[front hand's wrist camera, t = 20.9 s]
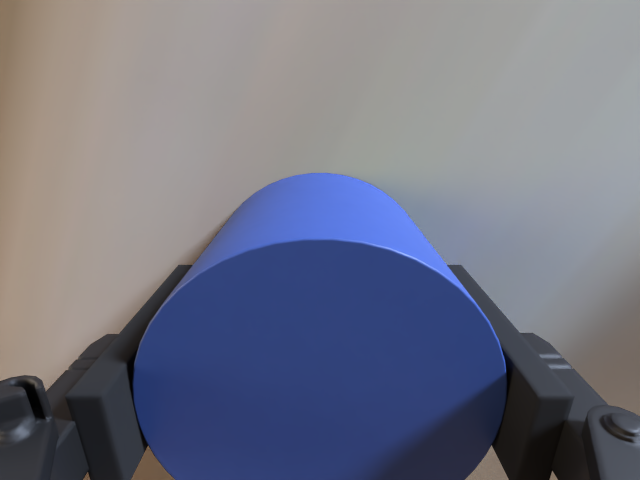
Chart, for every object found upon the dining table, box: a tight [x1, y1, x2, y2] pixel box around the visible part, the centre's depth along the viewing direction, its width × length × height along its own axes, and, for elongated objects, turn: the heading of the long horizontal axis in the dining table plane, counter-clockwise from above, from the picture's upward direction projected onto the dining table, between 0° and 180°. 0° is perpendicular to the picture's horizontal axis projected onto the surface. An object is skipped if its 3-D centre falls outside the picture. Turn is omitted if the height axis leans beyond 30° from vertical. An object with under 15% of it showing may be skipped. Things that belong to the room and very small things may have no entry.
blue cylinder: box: [132, 173, 507, 480], centre depth 12 cm, size 9×9×7 cm
